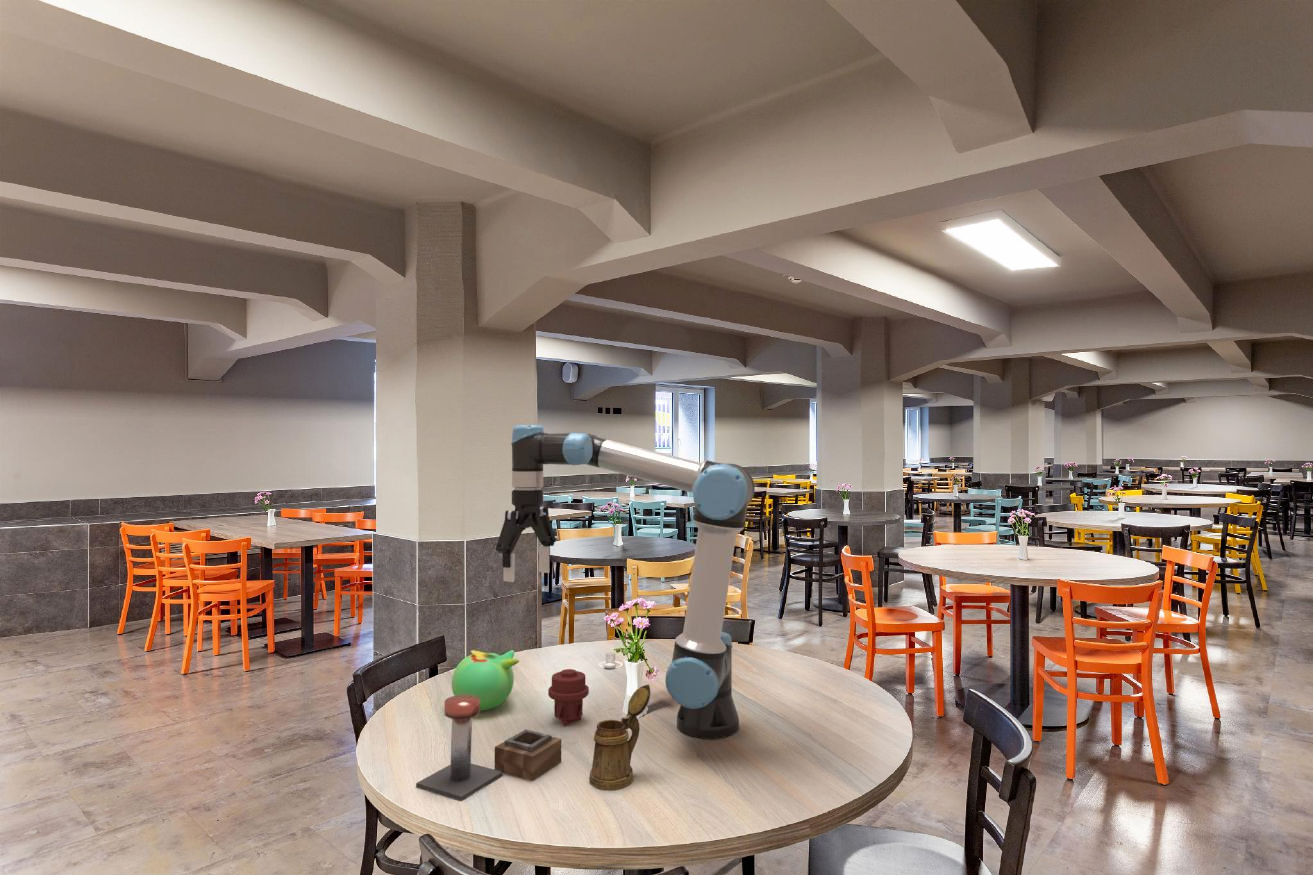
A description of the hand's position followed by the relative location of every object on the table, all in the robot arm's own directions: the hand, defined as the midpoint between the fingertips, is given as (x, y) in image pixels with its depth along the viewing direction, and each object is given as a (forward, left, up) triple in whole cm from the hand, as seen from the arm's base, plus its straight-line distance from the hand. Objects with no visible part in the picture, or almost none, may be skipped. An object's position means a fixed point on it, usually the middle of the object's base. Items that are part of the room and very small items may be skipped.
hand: (527, 576), depth 174 cm
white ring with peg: (+11, -51, -37) cm, 64 cm away
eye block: (-13, +16, -37) cm, 42 cm away
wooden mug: (-33, +11, -37) cm, 51 cm away
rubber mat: (-5, +28, -37) cm, 46 cm away
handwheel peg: (-5, +28, -36) cm, 46 cm away
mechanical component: (-6, -9, -37) cm, 38 cm away
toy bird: (+19, -7, -37) cm, 42 cm away
